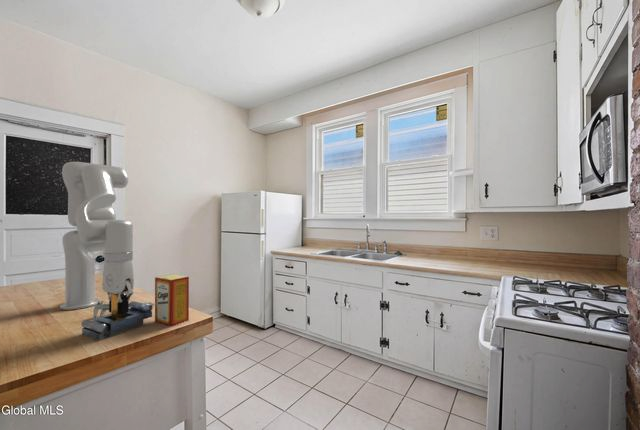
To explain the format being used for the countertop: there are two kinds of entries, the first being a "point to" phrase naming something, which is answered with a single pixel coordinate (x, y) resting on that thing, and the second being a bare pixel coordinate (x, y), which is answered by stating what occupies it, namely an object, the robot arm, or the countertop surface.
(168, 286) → the baking soda box
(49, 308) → the countertop surface
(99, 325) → the grey bench vise
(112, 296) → the gold tall block
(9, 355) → the countertop surface
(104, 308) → the caliper
